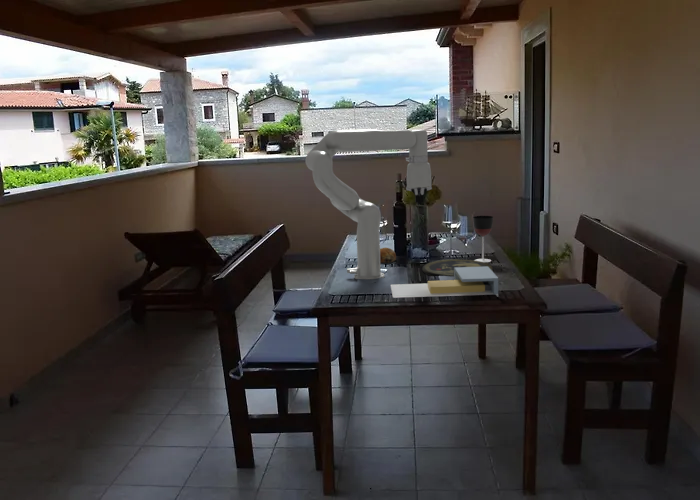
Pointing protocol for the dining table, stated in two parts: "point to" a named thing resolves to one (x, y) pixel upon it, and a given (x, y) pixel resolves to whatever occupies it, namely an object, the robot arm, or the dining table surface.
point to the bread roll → (387, 255)
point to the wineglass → (483, 230)
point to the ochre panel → (455, 286)
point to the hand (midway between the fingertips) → (419, 204)
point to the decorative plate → (450, 266)
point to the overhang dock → (459, 274)
